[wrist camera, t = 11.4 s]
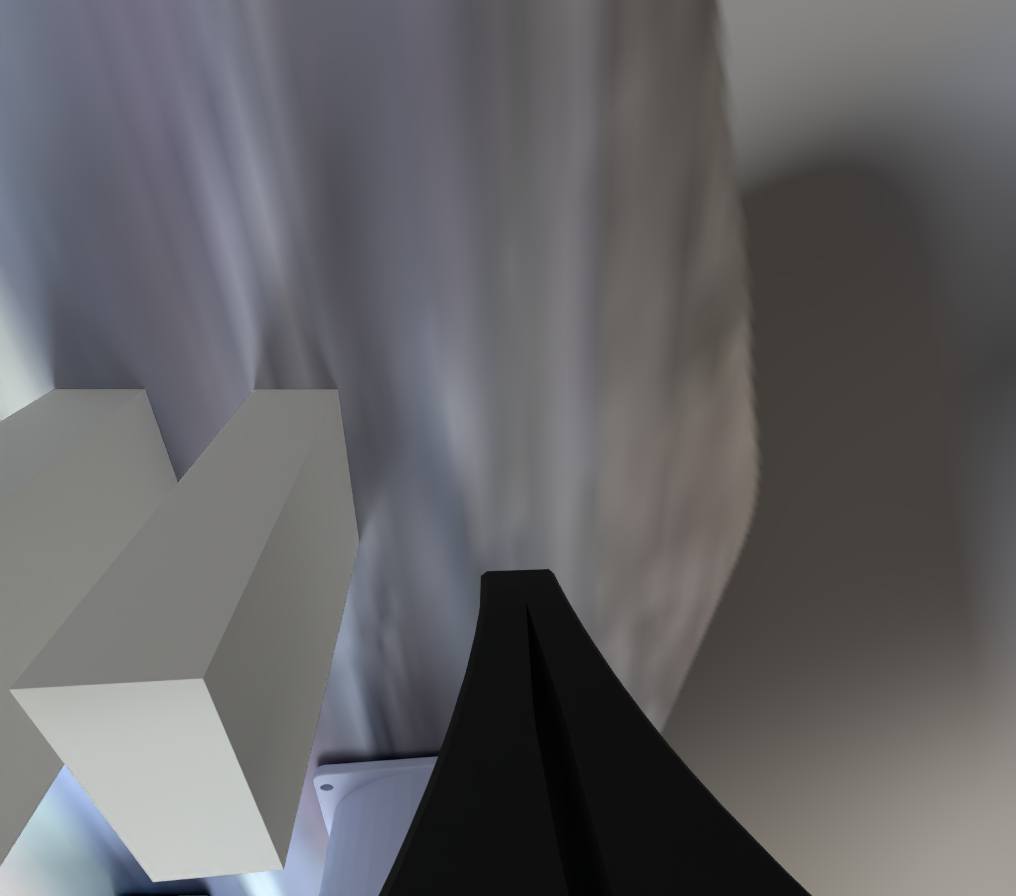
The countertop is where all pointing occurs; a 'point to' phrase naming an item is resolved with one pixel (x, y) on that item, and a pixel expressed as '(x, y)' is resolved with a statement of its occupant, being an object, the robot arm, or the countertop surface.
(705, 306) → the countertop surface
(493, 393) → the countertop surface
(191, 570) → the tile
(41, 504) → the tile
